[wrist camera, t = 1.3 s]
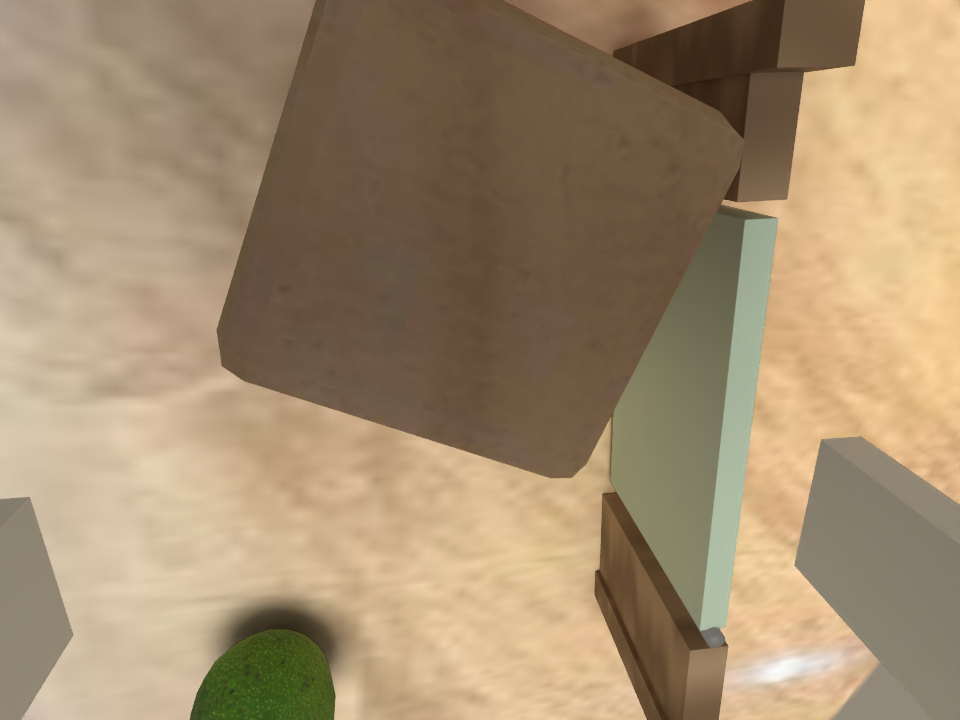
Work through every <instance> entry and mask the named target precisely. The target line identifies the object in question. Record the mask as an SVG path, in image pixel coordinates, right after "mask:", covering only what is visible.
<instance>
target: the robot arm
mask: <svg viewBox="0 0 960 720" xmlns="http://www.w3.org/2000/svg"><path fill="white" fill-rule="evenodd" d="M795 567H796V568H797V569H798V570H799V571H800V572H801V573H802V574H803V576H804V577H805V578H806V579H807V580H808V581H809V582H810V583H811V585H812V586H813V587H814V588H815V589H816V590H817V591H818V592H819V594H820V595H821V596H822V597H823V598H824V599H825V600H826V601H827V603H828V604H829V605H830V606H831V607H832V608H833V609H834V610H835V612H836V613H837V614H838V615H839V616H840V617H841V618H842V619H843V621H844V622H845V623H846V624H847V625H848V626H849V627H850V628H851V630H852V631H853V632H854V633H855V634H856V635H857V636H858V637H859V639H860V640H861V641H862V642H863V643H864V644H865V645H866V646H867V648H868V649H869V650H870V651H871V652H872V653H873V654H874V655H875V657H876V658H877V659H878V660H879V661H880V662H881V663H882V664H883V666H884V667H885V668H886V669H887V670H888V671H889V672H890V673H891V675H892V676H893V677H894V678H895V679H896V680H897V681H898V682H899V684H900V685H901V686H902V687H903V688H904V689H905V690H906V691H907V693H908V694H909V695H910V696H911V697H912V698H913V699H914V700H915V701H916V703H917V704H918V705H919V706H920V707H921V708H922V709H923V711H924V712H925V713H926V714H927V715H928V716H929V717H930V718H931V719H932V720H960V504H958V503H957V502H955V501H954V500H952V499H951V498H950V497H948V496H947V495H945V494H944V493H942V492H941V491H939V490H938V489H936V488H935V487H934V486H932V485H931V484H929V483H928V482H926V481H925V480H923V479H922V478H920V477H919V476H918V475H916V474H915V473H913V472H912V471H910V470H909V469H907V468H906V467H904V466H903V465H902V464H900V463H899V462H897V461H896V460H894V459H893V458H891V457H890V456H889V455H887V454H886V453H884V452H883V451H881V450H880V449H878V448H877V447H875V446H874V445H873V444H871V443H870V442H868V441H867V440H865V439H864V438H862V437H848V438H834V439H821V443H820V448H819V452H818V457H817V462H816V466H815V471H814V476H813V480H812V485H811V490H810V494H809V499H808V504H807V508H806V513H805V518H804V522H803V527H802V532H801V536H800V541H799V546H798V550H797V555H796V560H795ZM72 636H73V632H72V629H71V626H70V623H69V620H68V617H67V613H66V610H65V607H64V604H63V601H62V598H61V594H60V591H59V588H58V585H57V582H56V579H55V575H54V572H53V569H52V566H51V563H50V560H49V556H48V553H47V550H46V547H45V544H44V541H43V537H42V534H41V531H40V528H39V525H38V522H37V518H36V515H35V512H34V509H33V506H32V503H31V499H30V497H24V498H10V499H0V720H21V719H22V717H23V716H24V714H25V712H26V711H27V709H28V708H29V706H30V704H31V703H32V701H33V699H34V698H35V696H36V695H37V693H38V691H39V690H40V688H41V687H42V685H43V683H44V682H45V680H46V678H47V677H48V675H49V674H50V672H51V670H52V669H53V667H54V666H55V664H56V662H57V661H58V659H59V657H60V656H61V654H62V653H63V651H64V649H65V648H66V646H67V645H68V643H69V641H70V640H71V638H72Z"/></svg>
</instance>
